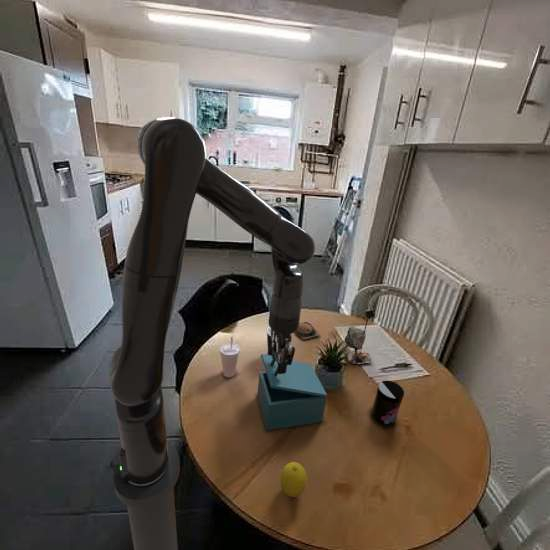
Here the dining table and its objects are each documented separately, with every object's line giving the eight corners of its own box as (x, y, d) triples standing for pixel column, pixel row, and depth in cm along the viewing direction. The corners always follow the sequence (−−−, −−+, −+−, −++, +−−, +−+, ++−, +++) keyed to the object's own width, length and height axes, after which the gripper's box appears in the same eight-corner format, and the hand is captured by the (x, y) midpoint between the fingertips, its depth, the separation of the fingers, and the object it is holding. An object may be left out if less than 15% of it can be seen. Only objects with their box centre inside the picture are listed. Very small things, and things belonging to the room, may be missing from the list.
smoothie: (242, 376, 99) (244, 339, 94) (224, 383, 96) (225, 345, 90) (233, 364, 104) (234, 329, 99) (215, 370, 101) (216, 334, 95)
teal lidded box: (266, 430, 81) (269, 405, 78) (257, 395, 92) (259, 371, 89) (321, 421, 85) (326, 397, 82) (306, 388, 96) (309, 366, 93)
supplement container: (374, 426, 85) (382, 397, 81) (368, 407, 92) (375, 379, 88) (398, 428, 85) (408, 399, 81) (391, 409, 92) (399, 381, 88)
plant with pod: (340, 348, 118) (349, 301, 110) (371, 355, 115) (382, 308, 107) (338, 361, 110) (348, 312, 103) (371, 368, 108) (383, 319, 100)
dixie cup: (264, 364, 106) (266, 337, 101) (263, 349, 113) (265, 324, 109) (287, 364, 106) (290, 337, 102) (285, 350, 114) (288, 324, 110)
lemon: (287, 474, 71) (291, 449, 68) (308, 489, 68) (313, 464, 65) (273, 493, 67) (276, 468, 64) (295, 511, 64) (300, 485, 61)
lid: (271, 387, 76) (280, 369, 74) (260, 355, 87) (268, 339, 85) (326, 397, 82) (335, 380, 80) (309, 366, 93) (317, 351, 91)
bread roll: (320, 337, 124) (321, 329, 122) (302, 341, 120) (303, 333, 119) (306, 323, 132) (307, 316, 131) (289, 326, 129) (290, 319, 127)
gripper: (263, 296, 81) (259, 350, 87) (278, 326, 68) (271, 386, 74) (291, 295, 83) (284, 348, 89) (310, 324, 70) (300, 383, 76)
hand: (278, 365), depth 82 cm, fingers closed on lid, 5 cm apart
